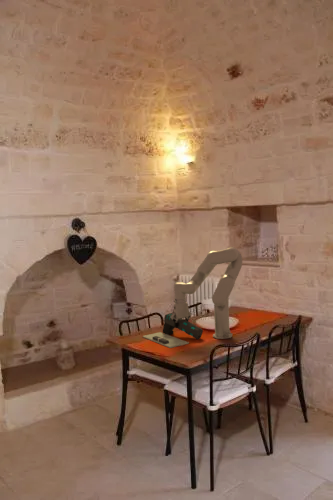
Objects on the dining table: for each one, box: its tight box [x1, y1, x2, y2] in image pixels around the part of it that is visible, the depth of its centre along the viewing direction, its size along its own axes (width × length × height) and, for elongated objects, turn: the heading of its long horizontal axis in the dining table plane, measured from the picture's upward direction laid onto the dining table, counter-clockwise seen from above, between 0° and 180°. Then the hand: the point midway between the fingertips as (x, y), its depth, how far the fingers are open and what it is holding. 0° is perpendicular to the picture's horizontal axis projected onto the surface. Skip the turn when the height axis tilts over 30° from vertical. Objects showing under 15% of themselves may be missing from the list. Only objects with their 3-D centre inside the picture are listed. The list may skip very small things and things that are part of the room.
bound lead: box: [153, 336, 169, 344], centre depth 311 cm, size 15×4×2 cm, turn 33°
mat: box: [142, 331, 190, 349], centre depth 315 cm, size 34×14×1 cm, turn 33°
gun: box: [162, 312, 204, 340], centre depth 322 cm, size 7×29×15 cm, turn 49°
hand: (181, 326), depth 322 cm, fingers closed on gun, 7 cm apart
